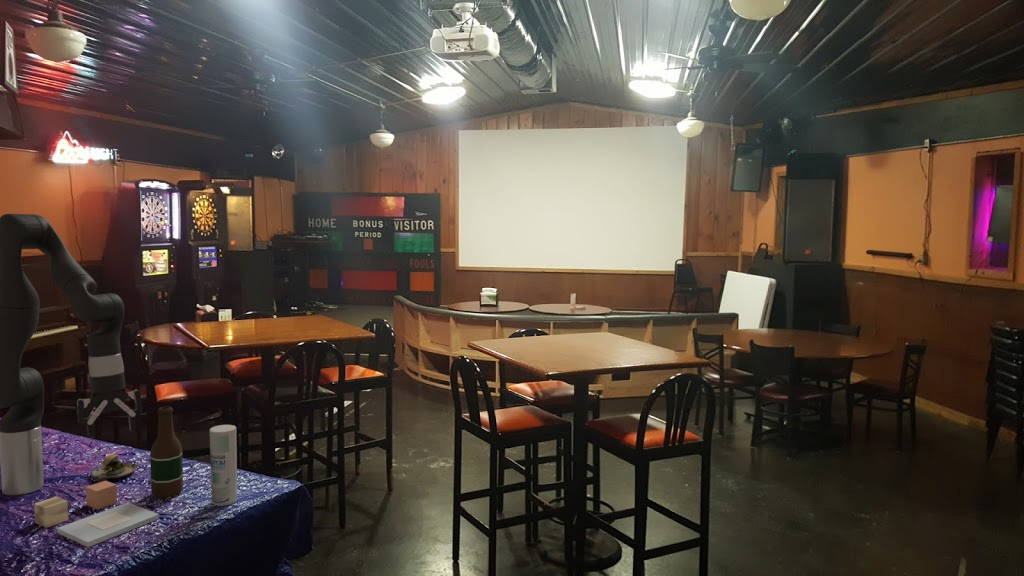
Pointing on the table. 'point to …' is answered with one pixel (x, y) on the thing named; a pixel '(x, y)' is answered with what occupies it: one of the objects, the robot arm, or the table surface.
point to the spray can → (223, 464)
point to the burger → (112, 469)
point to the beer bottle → (166, 458)
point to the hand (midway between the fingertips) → (112, 434)
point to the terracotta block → (101, 494)
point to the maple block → (51, 511)
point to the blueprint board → (107, 524)
